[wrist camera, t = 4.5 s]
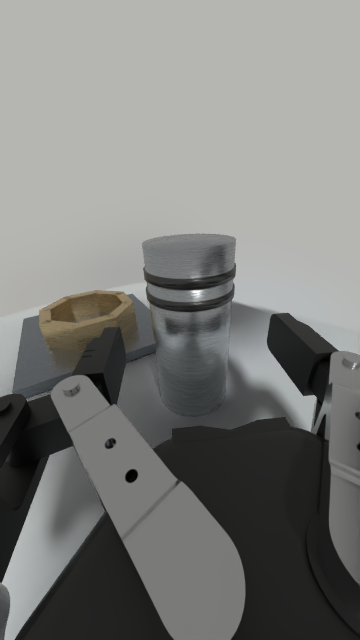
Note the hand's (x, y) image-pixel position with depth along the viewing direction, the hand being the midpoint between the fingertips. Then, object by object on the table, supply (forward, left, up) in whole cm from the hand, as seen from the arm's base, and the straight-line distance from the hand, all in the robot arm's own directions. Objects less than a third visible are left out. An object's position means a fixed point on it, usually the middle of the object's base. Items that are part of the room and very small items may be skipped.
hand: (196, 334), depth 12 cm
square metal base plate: (+4, -15, -7) cm, 17 cm away
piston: (-1, -2, -7) cm, 7 cm away
